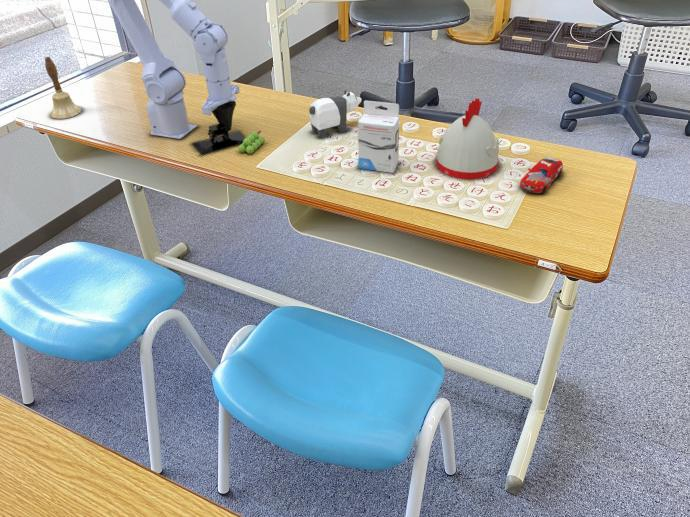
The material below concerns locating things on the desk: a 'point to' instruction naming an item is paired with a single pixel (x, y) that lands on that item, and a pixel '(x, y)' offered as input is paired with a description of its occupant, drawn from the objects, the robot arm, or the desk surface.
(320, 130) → the giant panda
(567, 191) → the desk surface
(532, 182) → the race car
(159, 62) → the robot arm
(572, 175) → the desk surface
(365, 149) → the ink box
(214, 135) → the build plate
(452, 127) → the white and red dome
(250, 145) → the grapes
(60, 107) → the hand bell
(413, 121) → the desk surface
